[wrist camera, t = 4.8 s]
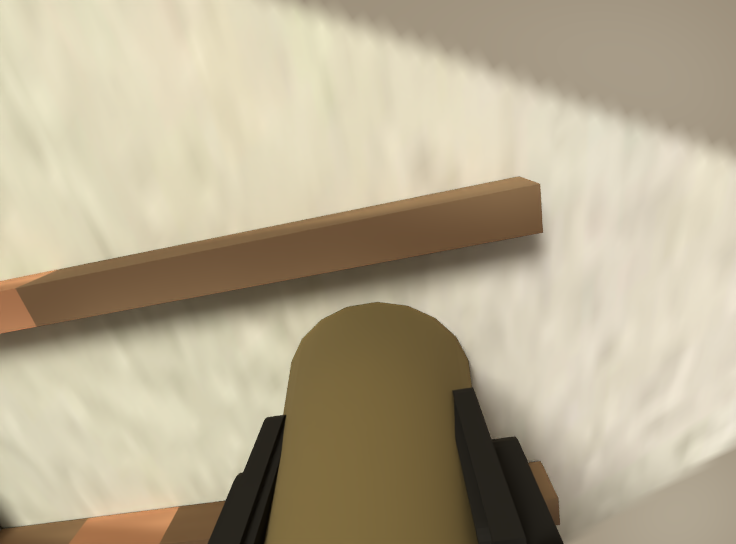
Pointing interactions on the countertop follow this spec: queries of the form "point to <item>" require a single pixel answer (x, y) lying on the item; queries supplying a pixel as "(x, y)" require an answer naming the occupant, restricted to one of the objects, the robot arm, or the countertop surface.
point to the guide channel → (247, 269)
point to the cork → (373, 434)
